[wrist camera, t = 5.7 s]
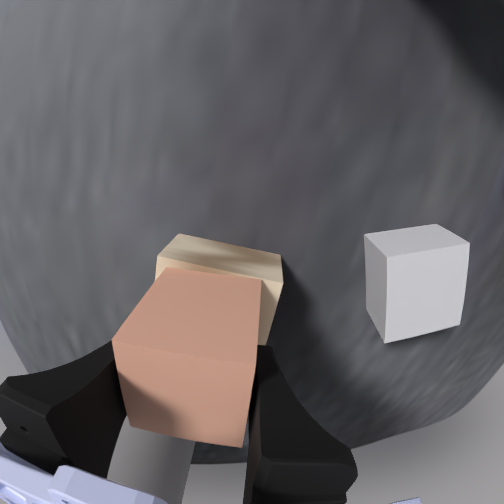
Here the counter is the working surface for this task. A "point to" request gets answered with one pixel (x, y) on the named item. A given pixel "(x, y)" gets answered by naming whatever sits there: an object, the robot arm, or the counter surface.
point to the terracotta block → (191, 356)
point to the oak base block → (229, 269)
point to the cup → (151, 462)
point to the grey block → (415, 280)
